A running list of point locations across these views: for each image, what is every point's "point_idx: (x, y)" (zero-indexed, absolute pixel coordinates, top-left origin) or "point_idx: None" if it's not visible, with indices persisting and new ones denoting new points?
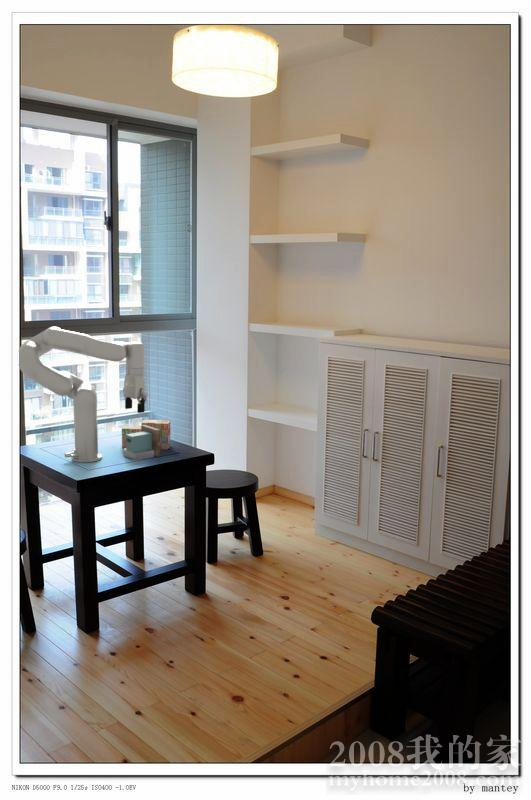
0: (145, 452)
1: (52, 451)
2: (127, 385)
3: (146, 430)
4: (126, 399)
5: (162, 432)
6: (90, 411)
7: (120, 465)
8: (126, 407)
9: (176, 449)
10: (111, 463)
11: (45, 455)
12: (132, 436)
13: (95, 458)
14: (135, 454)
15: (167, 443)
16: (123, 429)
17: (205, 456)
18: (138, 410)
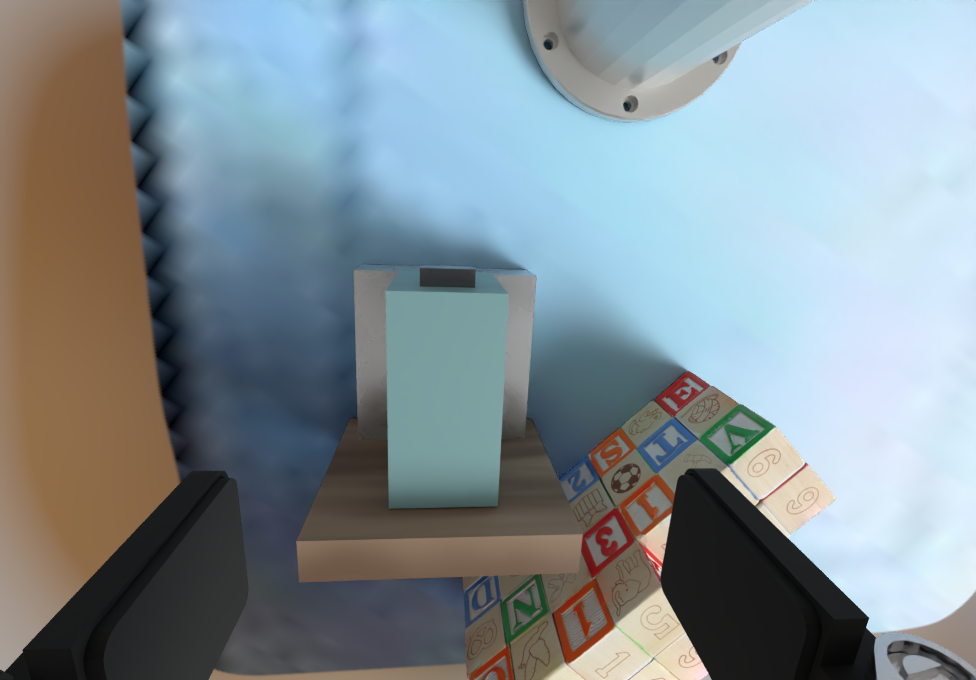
0: (356, 356)
1: None
2: None
3: (481, 514)
4: (872, 666)
5: (499, 632)
6: None
7: (313, 97)
8: (690, 488)
9: (426, 595)
10: (405, 76)
11: None
12: (392, 300)
13: (541, 5)
14: (356, 268)
15: (465, 587)
16: (758, 433)
17: None
18: (169, 506)
